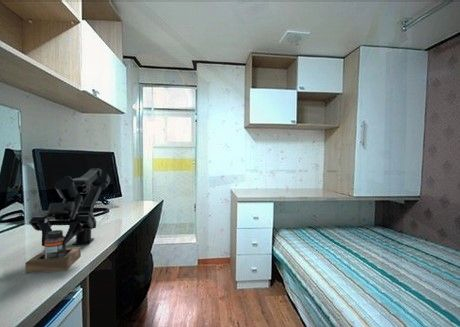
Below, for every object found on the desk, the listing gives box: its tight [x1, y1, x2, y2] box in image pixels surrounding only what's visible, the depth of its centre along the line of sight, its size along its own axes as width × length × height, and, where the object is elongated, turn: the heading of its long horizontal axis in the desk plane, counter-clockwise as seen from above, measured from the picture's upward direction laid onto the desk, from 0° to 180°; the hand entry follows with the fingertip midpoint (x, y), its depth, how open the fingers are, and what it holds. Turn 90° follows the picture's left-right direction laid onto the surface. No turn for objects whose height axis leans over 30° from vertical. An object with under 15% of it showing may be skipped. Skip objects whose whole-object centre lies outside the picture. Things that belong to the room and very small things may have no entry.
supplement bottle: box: [43, 229, 67, 259], centre depth 79 cm, size 6×6×11 cm
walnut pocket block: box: [24, 246, 82, 275], centre depth 79 cm, size 11×11×4 cm
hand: (53, 245), depth 78 cm, fingers closed on supplement bottle, 6 cm apart
